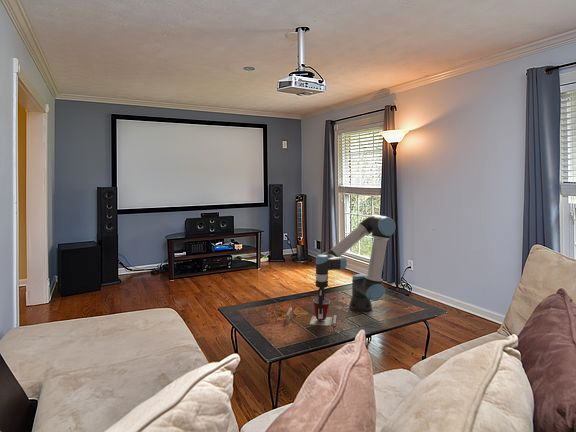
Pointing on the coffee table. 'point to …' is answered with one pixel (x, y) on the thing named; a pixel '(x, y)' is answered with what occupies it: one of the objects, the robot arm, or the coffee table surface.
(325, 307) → the plastic cup
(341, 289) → the coffee table surface
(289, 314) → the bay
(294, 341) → the coffee table surface
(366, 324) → the coffee table surface
